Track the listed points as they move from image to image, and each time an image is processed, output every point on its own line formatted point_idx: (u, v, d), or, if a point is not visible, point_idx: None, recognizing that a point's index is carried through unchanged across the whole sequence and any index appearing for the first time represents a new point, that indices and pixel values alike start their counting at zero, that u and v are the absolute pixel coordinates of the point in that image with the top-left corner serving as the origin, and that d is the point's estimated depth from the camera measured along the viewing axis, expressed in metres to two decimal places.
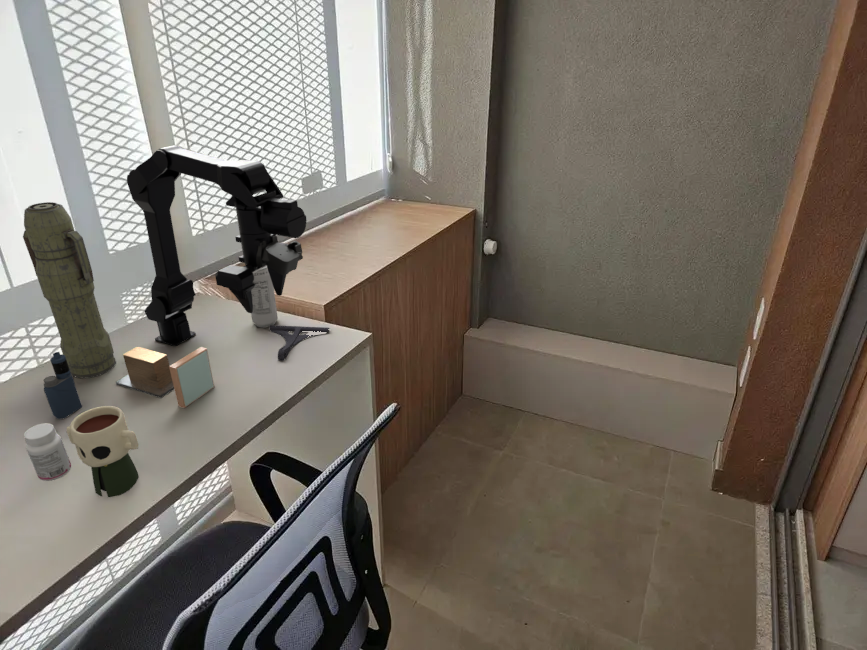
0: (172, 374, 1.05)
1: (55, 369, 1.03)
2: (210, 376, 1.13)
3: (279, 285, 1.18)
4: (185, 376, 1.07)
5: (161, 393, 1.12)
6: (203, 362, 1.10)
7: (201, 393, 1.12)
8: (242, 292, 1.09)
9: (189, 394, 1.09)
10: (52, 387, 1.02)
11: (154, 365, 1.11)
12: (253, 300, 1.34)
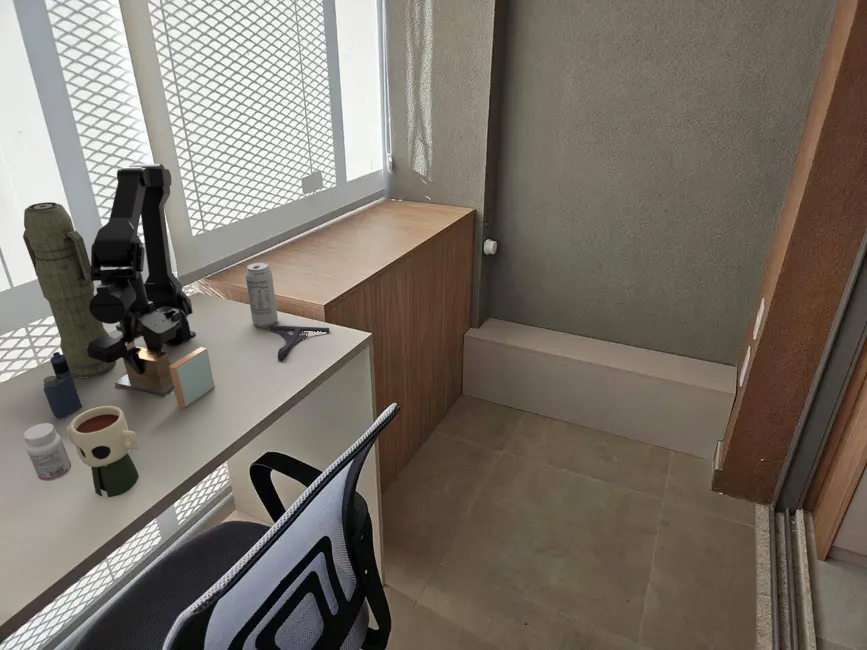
0: (172, 374, 1.05)
1: (55, 369, 1.03)
2: (210, 376, 1.13)
3: None
4: (185, 376, 1.07)
5: (163, 391, 1.12)
6: (203, 362, 1.10)
7: (201, 393, 1.12)
8: (129, 356, 1.10)
9: (189, 394, 1.09)
10: (52, 387, 1.02)
11: (155, 364, 1.11)
12: (253, 300, 1.34)
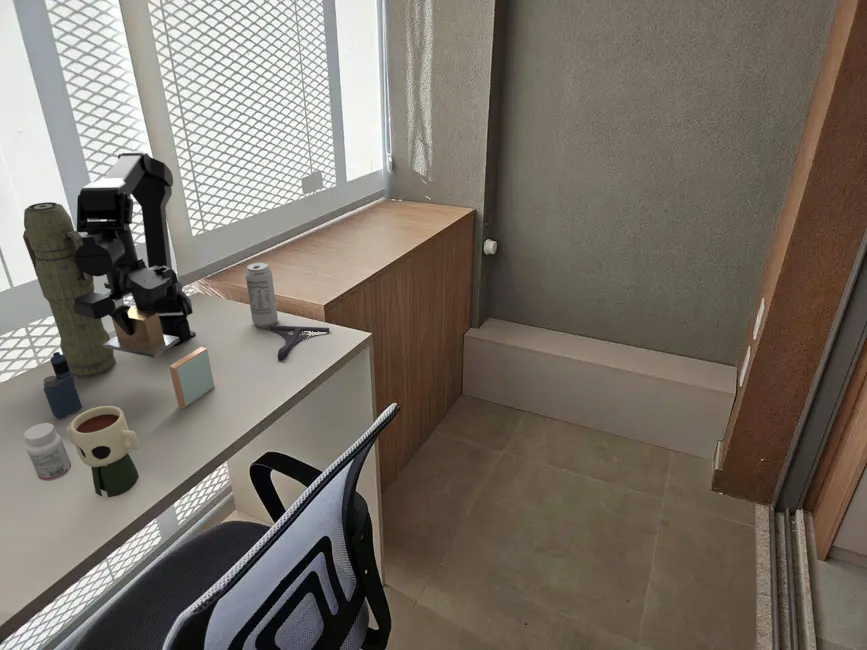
0: (172, 374, 1.05)
1: (55, 369, 1.03)
2: (210, 376, 1.13)
3: None
4: (185, 376, 1.07)
5: (154, 352, 1.08)
6: (203, 362, 1.10)
7: (201, 393, 1.12)
8: (118, 314, 1.06)
9: (189, 394, 1.09)
10: (52, 387, 1.02)
11: (145, 323, 1.07)
12: (253, 300, 1.34)
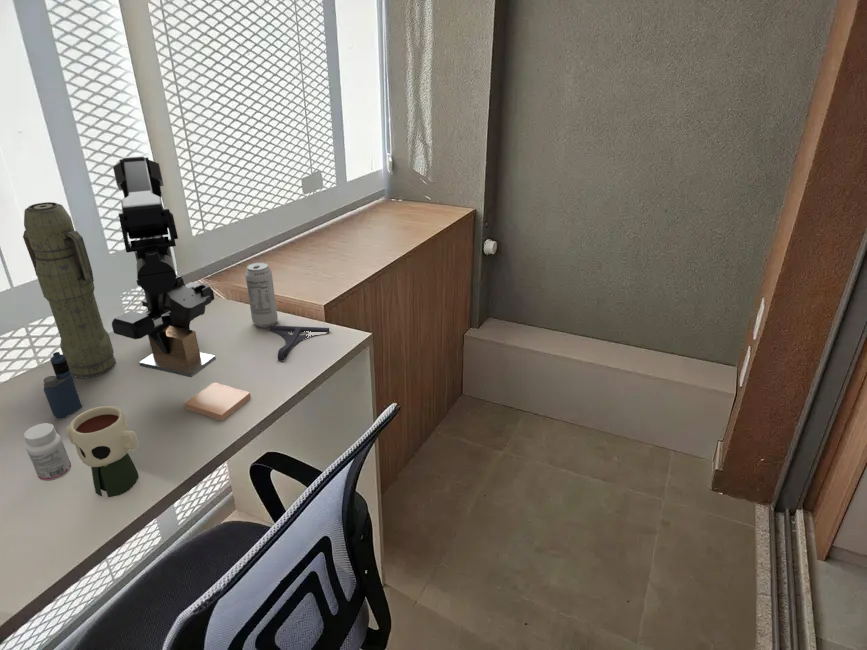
0: (214, 414, 1.05)
1: (55, 369, 1.03)
2: None
3: None
4: None
5: (191, 371, 1.05)
6: None
7: None
8: (156, 333, 1.03)
9: None
10: (52, 387, 1.02)
11: (183, 342, 1.04)
12: (253, 300, 1.34)
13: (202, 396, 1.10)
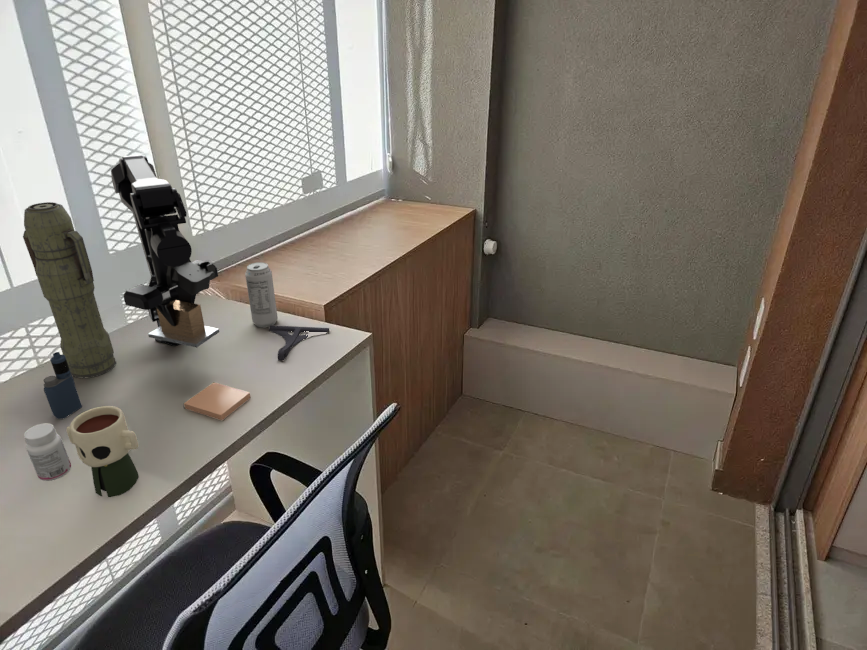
0: (214, 414, 1.05)
1: (55, 369, 1.03)
2: None
3: None
4: None
5: (196, 342, 1.14)
6: None
7: None
8: (164, 306, 1.12)
9: None
10: (52, 387, 1.02)
11: (189, 314, 1.12)
12: (253, 300, 1.34)
13: (202, 396, 1.10)
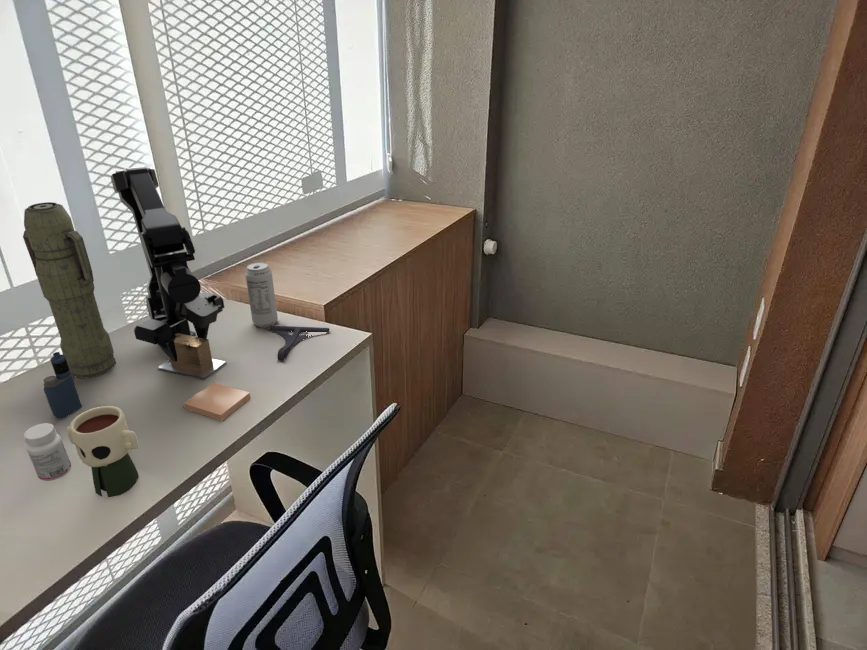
0: (214, 414, 1.05)
1: (55, 369, 1.03)
2: None
3: (202, 335, 1.22)
4: None
5: (204, 376, 1.17)
6: None
7: None
8: (165, 343, 1.14)
9: None
10: (52, 387, 1.02)
11: (197, 349, 1.16)
12: (253, 300, 1.34)
13: (202, 396, 1.10)
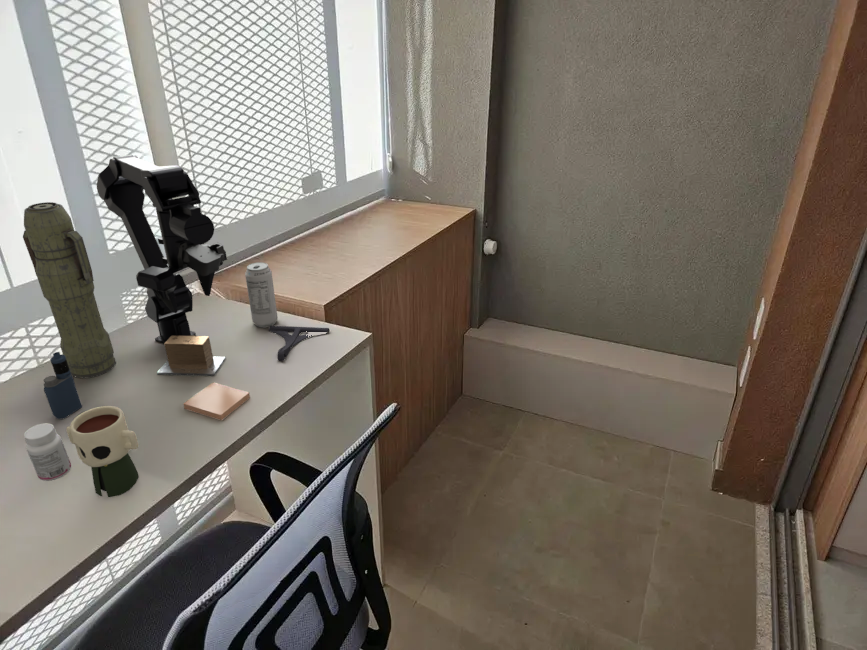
0: (213, 414, 1.05)
1: (55, 369, 1.03)
2: None
3: (207, 286, 1.22)
4: None
5: (213, 372, 1.19)
6: None
7: None
8: (165, 292, 1.12)
9: None
10: (52, 387, 1.02)
11: (203, 347, 1.17)
12: (252, 300, 1.34)
13: (201, 396, 1.10)
